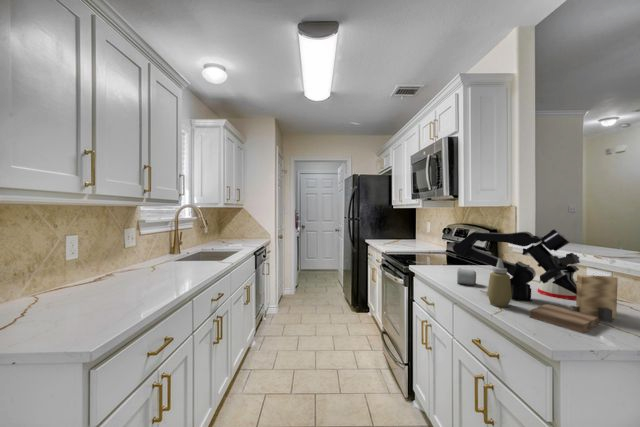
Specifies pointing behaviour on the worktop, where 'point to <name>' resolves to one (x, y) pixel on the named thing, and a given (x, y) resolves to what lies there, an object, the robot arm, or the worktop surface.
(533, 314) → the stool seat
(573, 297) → the kitchen timer
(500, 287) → the squeeze bottle
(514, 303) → the worktop surface
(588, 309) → the light wooden board
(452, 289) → the worktop surface
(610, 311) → the stop block
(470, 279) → the ceramic mug
